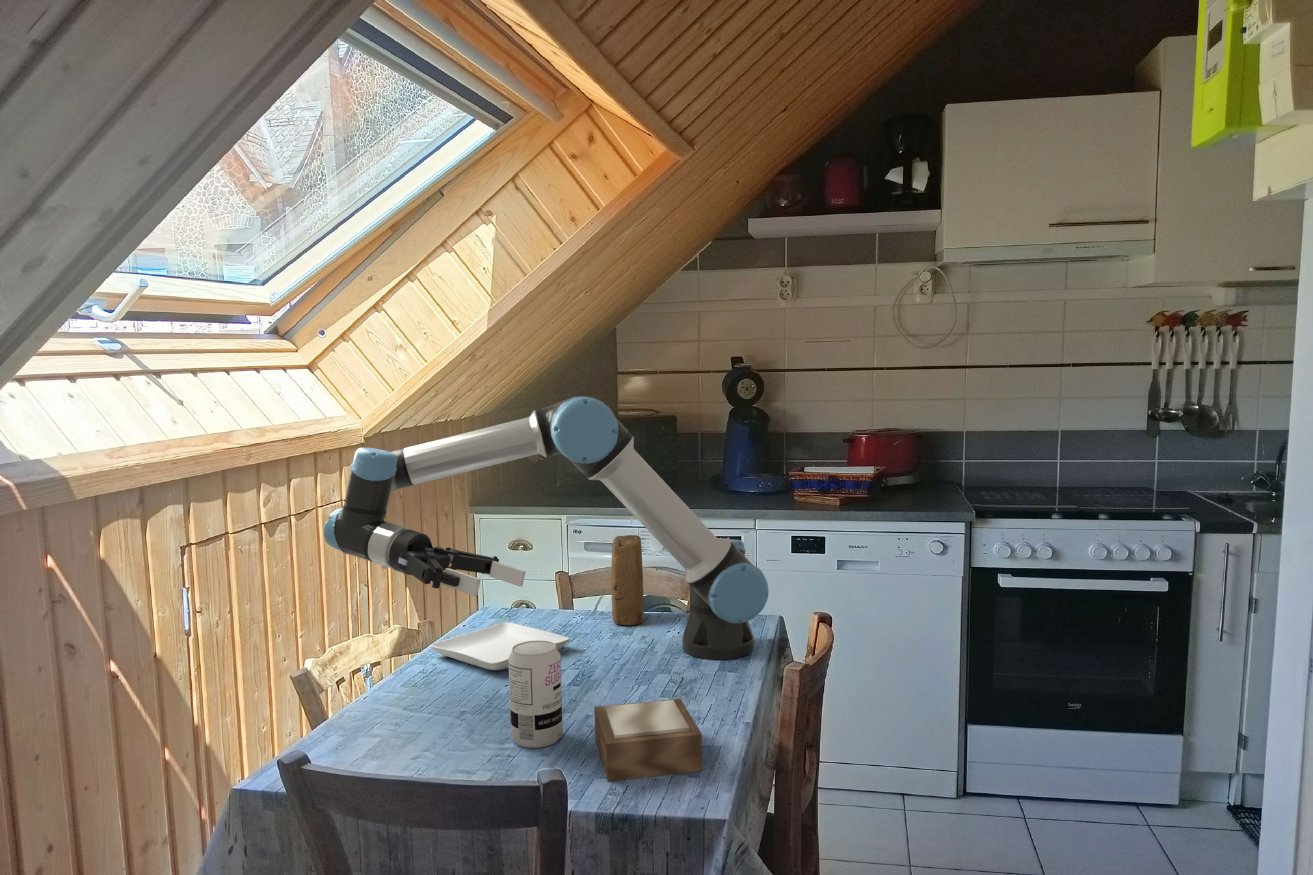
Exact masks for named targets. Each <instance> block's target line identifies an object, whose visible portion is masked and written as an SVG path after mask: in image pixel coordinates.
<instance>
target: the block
mask: <svg viewBox="0 0 1313 875" xmlns="http://www.w3.org/2000/svg"><path fill="white" fill-rule="evenodd" d="M611 548H612V549H611V573H610V574H611V576H610V578H611V579H610V580H611V581H610V582H611V611H612V621H613V623H615V624H616V625H619V626H635V625H639V624H641V623H644V620H645V606H644V605H645V603H644V600H645V599H644V598H645V597H644V577H643V574H644V571H643V555H642V553H643V552H642V551H643V550H642V538H641V536H640V535H638V534H637V535H636V534H634V535H632V534H628V535H626V534H625V535H617V536H615V537H614V538H613V541H612V547H611Z"/></svg>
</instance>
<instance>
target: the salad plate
mask: <svg viewBox="0 0 1313 875" xmlns="http://www.w3.org/2000/svg"><path fill="white" fill-rule="evenodd" d="M537 640H541V641H549V642H553V643H555V644H556V648H557V650H558V651H559V650H560V649H561V648H563V647H564V646H565V645H566V644H568V642H569V641H570V637H568V636H566V635H565V636H564V635H562V634H559V633H554V632H550V631H546V630H543V629H539V628H535V627H531V626H526V625H522V624H517V623H513V622H508V621H505V622H501V623H497V624H494V625H491V626H487V627H483V628H480V629H476V630H473V631H470V632H469V631H468V632H466V633H462V634H460V635H457V636H453V637H450V638H447V639H444V640H440V641H437V642H434V643H432V644H430V647H431V649H432V650H433V651H435V652H436V653H437V654H440V655H441V656H444V657H449V658H452V659H453V660H456V661H459V662H462V663H465V664H469V665H471V666H474V667H479V668H481V669H485V670H489V671H502V670H506V669H509V661H508V658H509V656H510V654H511V652H512V648H513V646H515V645H517V644H519V643H522V642H527V641H537Z"/></svg>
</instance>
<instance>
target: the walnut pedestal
mask: <svg viewBox="0 0 1313 875" xmlns="http://www.w3.org/2000/svg"><path fill="white" fill-rule="evenodd" d="M593 708H594V736H595V737H594V738H595V739H594V740H595V744H596V748H597V751H598V755H599V758H600V762H601V765H602V768H603V771H604V774H605V777H606V780H607V782H614V781H621V780H622V781H623V780H624V781H625V780H630V779H633V780H634V779H638V778H639V779H641V778H649V777H659V776H666V775H667V776H668V775H676V774H683V773H693V772H694V773H695V772H701V771H703V735H702V731H701V730H700V729H699V727H698V725H697V724H696V722H695V721H694V719H693V717H692V716H691V714H690V712H689V710H688V709H687V707H686V706H685V704H684V702H683V701H682V699H681V698H674V699H673V698H671V699H663V700H662V699H661V700H652V701H641V702H632V703H620V704H612V705H611V704H610V705H603V706H602V705H600V706H594V707H593Z"/></svg>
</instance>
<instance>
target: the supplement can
mask: <svg viewBox="0 0 1313 875" xmlns="http://www.w3.org/2000/svg"><path fill="white" fill-rule="evenodd" d="M561 655H562V654H561V653H560V651H559V649H558V650H557V648H556V644H555V643H553V642H549V641H541V640H537V641H527V642H522V643H519V644H517V645H515V646H513V648H512V652H511V654H510V656H509V658H508V661H509V668H508V686H509V690H508V691H509V712H510V714H509V716H510V737H511V740H512V741H513V742H515V744H517V745H518V746H520V747H523V748H526V749H527V748H528V749H537V748H538V749H539V748H544V747H548V746H551V745H554V744H555V743H556V742H558V741H559V739H560V738H561V737H562V735H563V732H564V727H563V724H564V722H563V720H564V719H563V690H562V689H563V688H562V660H561V659H562V658H561V657H562V656H561Z"/></svg>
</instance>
